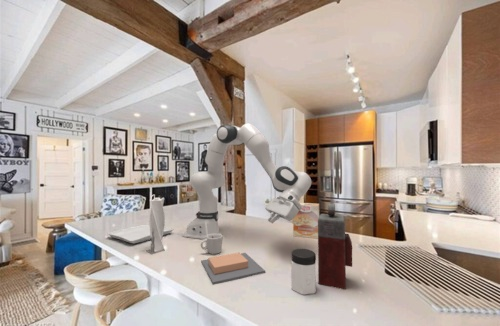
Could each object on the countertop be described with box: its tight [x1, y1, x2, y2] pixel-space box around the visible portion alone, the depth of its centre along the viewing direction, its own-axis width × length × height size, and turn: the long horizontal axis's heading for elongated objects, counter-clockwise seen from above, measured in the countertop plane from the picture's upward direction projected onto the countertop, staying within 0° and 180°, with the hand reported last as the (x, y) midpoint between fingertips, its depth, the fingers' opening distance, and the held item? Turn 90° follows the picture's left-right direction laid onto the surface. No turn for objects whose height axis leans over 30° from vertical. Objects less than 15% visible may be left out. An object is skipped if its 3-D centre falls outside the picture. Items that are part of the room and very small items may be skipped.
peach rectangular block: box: [207, 252, 248, 274], centre depth 90 cm, size 10×3×14 cm
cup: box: [200, 233, 224, 255], centre depth 106 cm, size 11×8×8 cm
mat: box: [200, 252, 266, 285], centre depth 91 cm, size 20×21×1 cm
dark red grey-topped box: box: [317, 203, 353, 290], centre depth 80 cm, size 9×11×28 cm
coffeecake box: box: [292, 202, 320, 240], centre depth 133 cm, size 15×7×20 cm, turn 70°
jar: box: [290, 248, 317, 296], centre depth 75 cm, size 9×8×12 cm
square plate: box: [106, 223, 175, 244], centre depth 133 cm, size 27×27×4 cm
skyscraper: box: [145, 194, 166, 255], centre depth 110 cm, size 8×8×28 cm
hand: (270, 221), depth 102 cm, fingers closed
